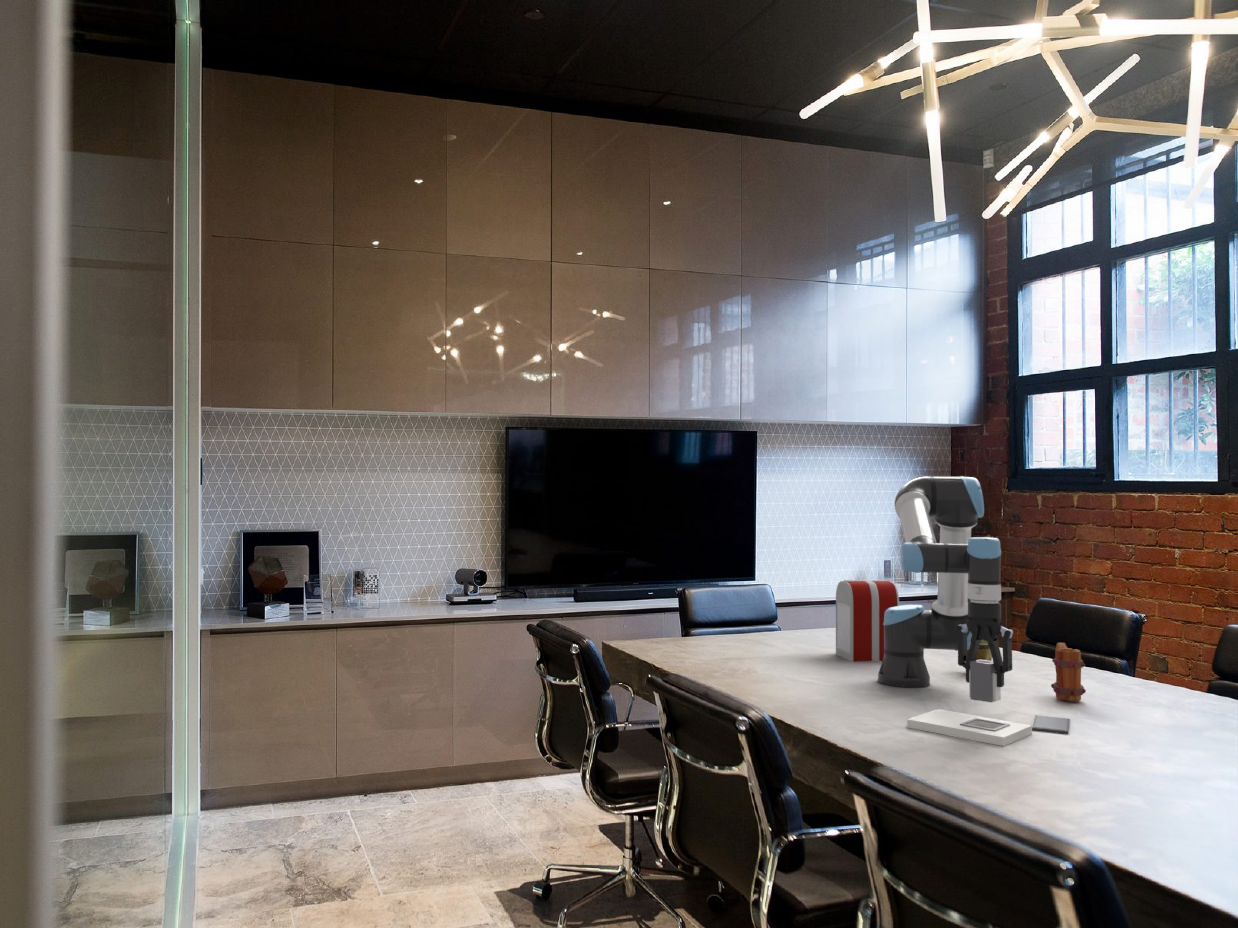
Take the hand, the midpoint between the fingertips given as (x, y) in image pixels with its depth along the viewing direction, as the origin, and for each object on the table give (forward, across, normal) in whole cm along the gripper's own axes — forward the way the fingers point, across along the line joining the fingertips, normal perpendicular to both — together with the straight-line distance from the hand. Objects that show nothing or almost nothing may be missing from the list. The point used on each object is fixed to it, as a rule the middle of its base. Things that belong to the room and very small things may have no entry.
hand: (984, 698), depth 229 cm
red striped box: (+8, -76, +74) cm, 106 cm away
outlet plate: (+8, -4, 0) cm, 9 cm away
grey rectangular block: (0, 0, 0) cm, 0 cm away
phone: (+9, +8, +20) cm, 24 cm away
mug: (+8, -1, +55) cm, 56 cm away
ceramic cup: (+8, -37, +74) cm, 83 cm away
